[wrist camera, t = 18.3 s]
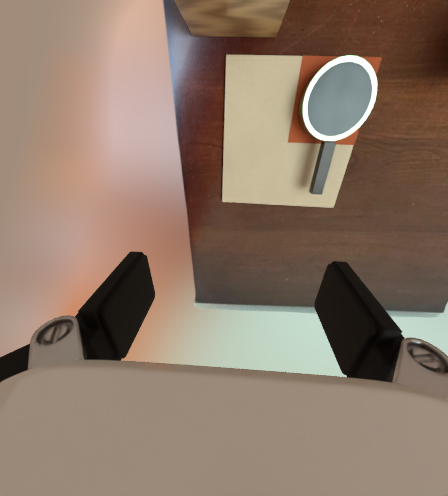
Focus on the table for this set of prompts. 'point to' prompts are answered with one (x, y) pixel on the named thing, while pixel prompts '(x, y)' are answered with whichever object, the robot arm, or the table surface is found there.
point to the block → (233, 17)
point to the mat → (275, 133)
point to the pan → (335, 107)
